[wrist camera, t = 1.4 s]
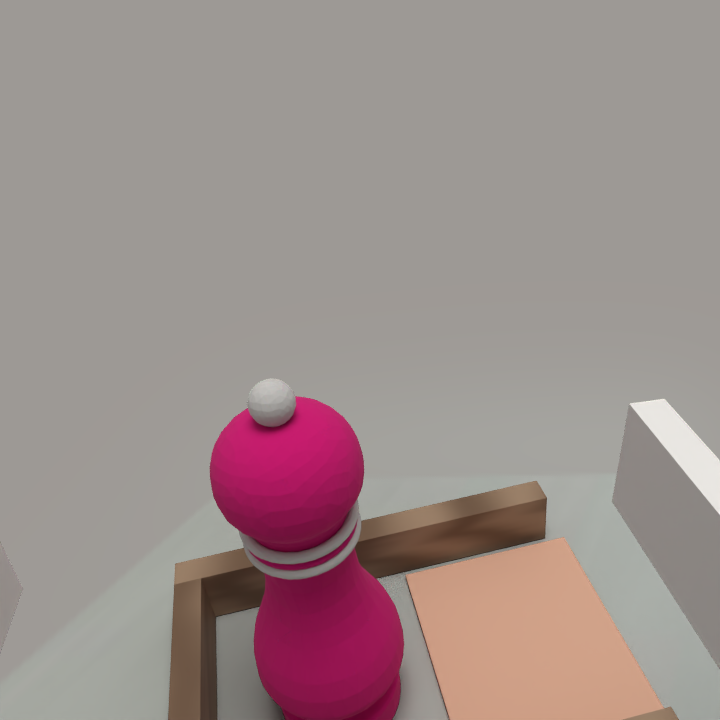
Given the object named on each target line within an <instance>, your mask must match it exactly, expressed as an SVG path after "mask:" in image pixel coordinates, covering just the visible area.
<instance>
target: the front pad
mask: <svg viewBox="0 0 720 720" xmlns="http://www.w3.org/2000/svg"><path fill="white" fill-rule="evenodd" d="M406 580H407V583H408V586H409V589H410V593H411V596H412V599H413V602H414V606H415V609H416V612H417V615H418V619H419V622H420V625H421V628H422V632H423V635H424V638H425V641H426V645H427V648H428V651H429V654H430V658H431V661H432V664H433V667H434V671H435V674H436V677H437V680H438V684H439V687H440V690H441V693H442V697H443V700H444V703H445V706H446V710H447V713H448V716H449V719H450V720H623V719H627V718H630V717H634V716H638V715H642V714H645V713H649V712H653V711H656V710H660V709H664V707H663V706H662V704H661V702H660V701H659V699H658V697H657V695H656V694H655V692H654V690H653V689H652V687H651V685H650V684H649V682H648V680H647V678H646V677H645V675H644V673H643V672H642V670H641V668H640V666H639V665H638V663H637V661H636V660H635V658H634V656H633V654H632V653H631V651H630V649H629V648H628V646H627V644H626V642H625V641H624V639H623V637H622V636H621V634H620V632H619V630H618V629H617V627H616V625H615V624H614V622H613V620H612V619H611V617H610V615H609V613H608V612H607V610H606V608H605V607H604V605H603V603H602V601H601V600H600V598H599V596H598V595H597V593H596V591H595V589H594V588H593V586H592V584H591V583H590V581H589V579H588V577H587V576H586V574H585V572H584V571H583V569H582V567H581V565H580V564H579V562H578V560H577V559H576V557H575V555H574V554H573V552H572V550H571V548H570V547H569V545H568V543H567V542H566V540H565V538H564V537H563V538H558V539H554V540H550V541H546V542H542V543H537V544H533V545H529V546H525V547H521V548H516V549H512V550H508V551H504V552H500V553H496V554H491V555H487V556H483V557H479V558H475V559H470V560H466V561H462V562H458V563H454V564H449V565H445V566H441V567H437V568H433V569H429V570H424V571H420V572H416V573H412V574H408V575H406Z"/></svg>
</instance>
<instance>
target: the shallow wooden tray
mask: <svg viewBox="0 0 720 720" xmlns="http://www.w3.org/2000/svg"><path fill="white" fill-rule="evenodd" d="M546 504H547V497H546V496H545V494H544V492H543V491H542V489H541V487H540V486H539V484H538V482H537V481H533V482H529V483H524V484H520V485H516V486H511V487H507V488H503V489H498V490H494V491H490V492H485V493H481V494H477V495H472V496H468V497H463V498H459V499H455V500H450V501H446V502H442V503H437V504H433V505H429V506H424V507H420V508H416V509H411V510H407V511H403V512H398V513H394V514H390V515H385V516H381V517H376V518H372V519H368V520H363V521H361V532H360V536H359V539H358V542H357V544H356V546H355V551H356V554H357V558H358V561H359V563H360V565H361V566H362V567H363V568H364V569H365V570H366V571H367V572H369V573H370V574H371V575H372V576H373V577H374V578H380V577H384V576H388V575H392V574H396V573H401V572H405V571H409V570H413V569H417V568H422V567H426V566H430V565H434V564H438V563H443V562H447V561H451V560H455V559H459V558H464V557H468V556H472V555H476V554H480V553H485V552H489V551H493V550H497V549H501V548H505V547H510V546H514V545H518V544H522V543H526V542H531V541H535V540H539V539H543V538H545V525H546ZM264 592H265V574H264V573H263V572H262V571H260V570H259V569H258V568H256V567H255V566H254V565H253V564H252V563H251V561H250V560H249V559H248V557H247V555H246V553H245V550H244V548H242V549H237V550H233V551H228V552H224V553H220V554H215V555H211V556H207V557H202V558H198V559H194V560H189V561H185V562H181V563H176V564H175V581H174V603H173V625H172V647H171V670H170V692H169V714H168V720H217V671H216V616H220V615H224V614H228V613H233V612H237V611H241V610H245V609H249V608H254V607H258V606H260V605H261V602H262V599H263V596H264ZM623 720H679V719H678V718H677V716H676V714H675V713H674V711H673V709H672V708H671V707H668V708H664V709H660V710H656V711H653V712H649V713H645V714H642V715H638V716H634V717H630V718H627V719H623Z"/></svg>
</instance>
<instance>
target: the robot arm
mask: <svg viewBox="0 0 720 720" xmlns="http://www.w3.org/2000/svg"><path fill="white" fill-rule="evenodd" d="M612 502H613V504H614V505H615V507H616V508H617V510H618V512H619V513H620V515H621V516H622V518H623V519H624V521H625V522H626V524H627V526H628V527H629V529H630V530H631V532H632V533H633V535H634V536H635V538H636V540H637V541H638V543H639V544H640V546H641V547H642V549H643V551H644V552H645V554H646V555H647V557H648V558H649V560H650V561H651V563H652V565H653V566H654V568H655V569H656V571H657V572H658V574H659V575H660V577H661V579H662V580H663V582H664V583H665V585H666V586H667V588H668V589H669V591H670V593H671V594H672V596H673V597H674V599H675V600H676V602H677V603H678V605H679V607H680V608H681V610H682V611H683V613H684V614H685V616H686V618H687V619H688V621H689V622H690V624H691V625H692V627H693V628H694V630H695V632H696V633H697V635H698V636H699V638H700V639H701V641H702V642H703V644H704V646H705V647H706V649H707V650H708V652H709V653H710V655H711V656H712V658H713V660H714V661H715V663H716V664H717V666H718V667H719V669H720V460H719V459H718V458H717V457H716V456H715V455H714V454H713V452H712V451H711V450H710V449H709V448H708V447H707V446H706V445H705V444H704V443H703V441H702V440H701V439H700V438H699V437H698V436H697V435H696V434H695V432H694V431H693V430H692V429H691V428H690V427H689V426H688V425H687V424H686V422H685V421H684V420H683V419H682V418H681V417H680V416H679V415H678V414H677V412H676V411H675V410H674V409H673V408H672V407H671V406H670V405H669V404H668V403H667V401H666V400H665V399H660V400H652V401H645V402H638V403H631V404H629V407H628V413H627V419H626V425H625V430H624V436H623V442H622V447H621V453H620V459H619V465H618V470H617V476H616V482H615V487H614V493H613V499H612ZM22 590H23V587H22V586H21V583H20V581H19V579H18V577H17V575H16V573H15V571H14V569H13V567H12V565H11V563H10V561H9V559H8V557H7V555H6V553H5V550H4V548H3V547H2V544H1V542H0V652H1V650H2V647H3V644H4V641H5V638H6V636H7V633H8V630H9V627H10V624H11V621H12V619H13V616H14V613H15V610H16V607H17V605H18V602H19V599H20V596H21V593H22Z"/></svg>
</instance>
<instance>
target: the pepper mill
mask: <svg viewBox="0 0 720 720" xmlns="http://www.w3.org/2000/svg"><path fill="white" fill-rule="evenodd" d="M247 403H248V404H247V405H248V408H247V409H245V410H244V411H243V412H241V413H240V414H238V415H237V416H235V417H234V418H233V419H232V421H231V422H230V423H229V424H228V425H227V426H226V427H225V428H224V430H223V431H222V432H221V434H220V436H219V438H218V440H217V441H216V443H215V445H214V449H213V452H212V457H211V463H210V479H211V485H212V491H213V496H214V499H215V501H216V503H217V506H218V507H219V509H220V510H221V512H222V513H223V515H224V517H225V518H226V520H227V521H228V522H229V523H230V524H232V525H233V526H234V527H235V528H237V529H238V530H239V534H240V537H241V539H242V542H243V546H244V550H245V553H246V555H247V557H248V559H249V560H250V561H251V563H252V564H253V565H254V566H255V567H256V568H258V569H259V570H260V571H262V572H263V573H264V574H265V592H264V596H263V599H262V602H261V605H260V608H259V612H258V615H257V618H256V623H255V633H254V654H255V659H256V664H257V668H258V673H259V677H260V679H261V682H262V684H263V686H264V688H265V689H266V691H267V692H268V694H269V695H270V696H271V698H272V699H273V700H274V701H275V702H276V703H277V704H278V705H279V706H280V707H281V708H282V711H283V714H284V717H285V720H392V718H393V717H394V715H395V713H396V710H397V707H398V705H399V699H400V693H401V683H400V676H399V669H400V666H401V662H402V658H403V649H404V639H403V630H402V626H401V622H400V619H399V615H398V612H397V609H396V607H395V605H394V603H393V601H392V600H391V598H390V596H389V595H388V593H387V592H386V590H385V589H384V587H383V586H382V585H381V584H380V583H379V581H378V580H377V579H375V578H374V577H373V576H372V575H371V574H370V573H369V572H367V571H366V570H365V569H364V568H363V567H362V566H361V565H360V563H359V561H358V558H357V554H356V551H355V546H356V544H357V542H358V539H359V536H360V532H361V517H360V513H359V505H358V500H357V498H358V496H359V494H360V491H361V488H362V485H363V477H364V461H363V455H362V451H361V448H360V444H359V441H358V439H357V436H356V435H355V433H354V431H353V429H352V428H351V426H350V425H349V424H348V422H347V421H346V420H345V419H344V417H343V416H341V415H340V414H339V413H337V412H336V411H335V410H334V409H333V408H331V407H330V406H327V405H325V404H323V403H321V402H319V401H317V400H314V399H310V398H304V397H296V396H295V395H294V392H293V391H292V389H291V388H290V386H288V385H287V384H286V383H285V382H283V381H281V380H278V379H267V380H263V381H261V382H259V383H258V384H256V385H255V386H254V387H253V388H252V390H251V391H250V393H249V397H248V402H247Z"/></svg>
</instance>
